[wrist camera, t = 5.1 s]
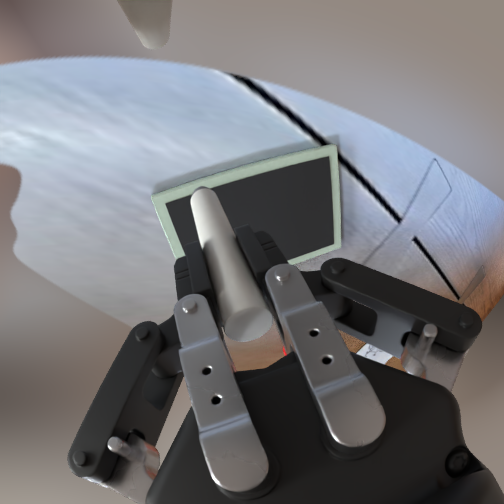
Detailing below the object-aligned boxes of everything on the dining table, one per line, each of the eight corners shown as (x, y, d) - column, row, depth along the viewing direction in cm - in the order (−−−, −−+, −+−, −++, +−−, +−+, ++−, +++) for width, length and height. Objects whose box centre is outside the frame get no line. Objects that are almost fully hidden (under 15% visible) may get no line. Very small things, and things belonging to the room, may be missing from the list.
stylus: (185, 187, 19) (218, 317, 9) (211, 179, 19) (269, 300, 9) (193, 210, 20) (231, 347, 10) (217, 202, 20) (276, 331, 10)
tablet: (151, 195, 31) (150, 198, 30) (333, 143, 34) (337, 145, 33) (192, 294, 40) (193, 299, 40) (338, 244, 43) (341, 247, 42)
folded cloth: (424, 320, 70) (428, 325, 68) (375, 367, 75) (378, 373, 74) (402, 304, 59) (407, 310, 58) (343, 361, 65) (347, 367, 64)
